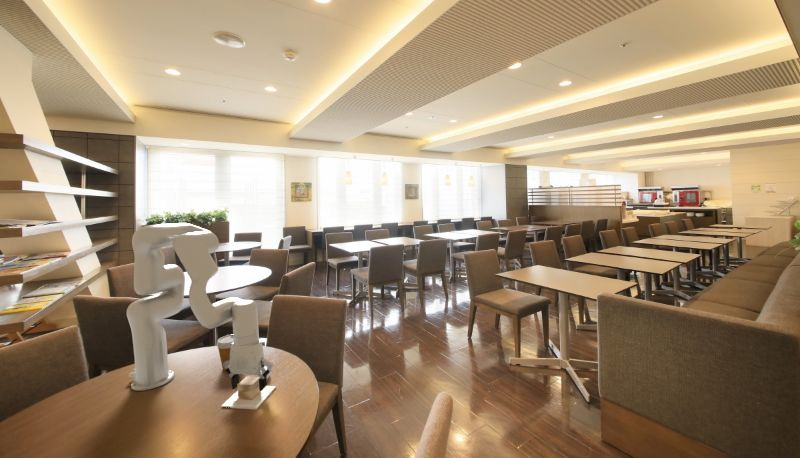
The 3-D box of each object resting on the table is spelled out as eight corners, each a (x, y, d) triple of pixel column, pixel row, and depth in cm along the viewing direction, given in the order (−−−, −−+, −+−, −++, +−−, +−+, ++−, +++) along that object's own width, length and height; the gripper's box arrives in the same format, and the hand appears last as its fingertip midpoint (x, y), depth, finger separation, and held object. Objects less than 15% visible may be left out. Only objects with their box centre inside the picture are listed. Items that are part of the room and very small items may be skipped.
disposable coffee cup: (249, 362, 132) (248, 333, 131) (235, 374, 123) (233, 343, 122) (228, 361, 133) (226, 333, 132) (212, 373, 124) (210, 343, 123)
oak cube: (238, 399, 106) (237, 384, 105) (247, 390, 110) (246, 376, 110) (252, 400, 105) (251, 385, 104) (260, 391, 110) (260, 377, 109)
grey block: (254, 382, 117) (254, 372, 116) (258, 377, 121) (257, 366, 120) (266, 381, 117) (265, 371, 117) (269, 376, 121) (268, 365, 121)
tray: (221, 407, 102) (221, 405, 102) (244, 386, 114) (244, 384, 114) (256, 409, 101) (256, 407, 101) (275, 387, 113) (275, 385, 113)
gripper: (214, 342, 103) (217, 392, 105) (265, 343, 101) (267, 395, 103) (229, 332, 111) (232, 380, 112) (276, 334, 109) (279, 382, 110)
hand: (249, 387), depth 107 cm, fingers open, 9 cm apart
